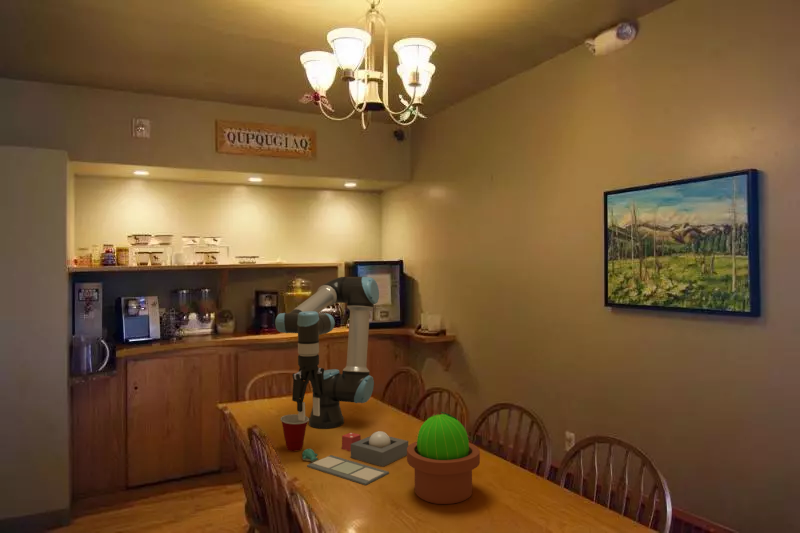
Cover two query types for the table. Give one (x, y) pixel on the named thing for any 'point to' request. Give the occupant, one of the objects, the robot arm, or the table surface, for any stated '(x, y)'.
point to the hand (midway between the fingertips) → (309, 417)
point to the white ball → (379, 439)
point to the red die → (349, 440)
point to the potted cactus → (443, 460)
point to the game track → (348, 469)
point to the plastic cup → (294, 431)
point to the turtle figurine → (309, 455)
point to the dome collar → (379, 451)
